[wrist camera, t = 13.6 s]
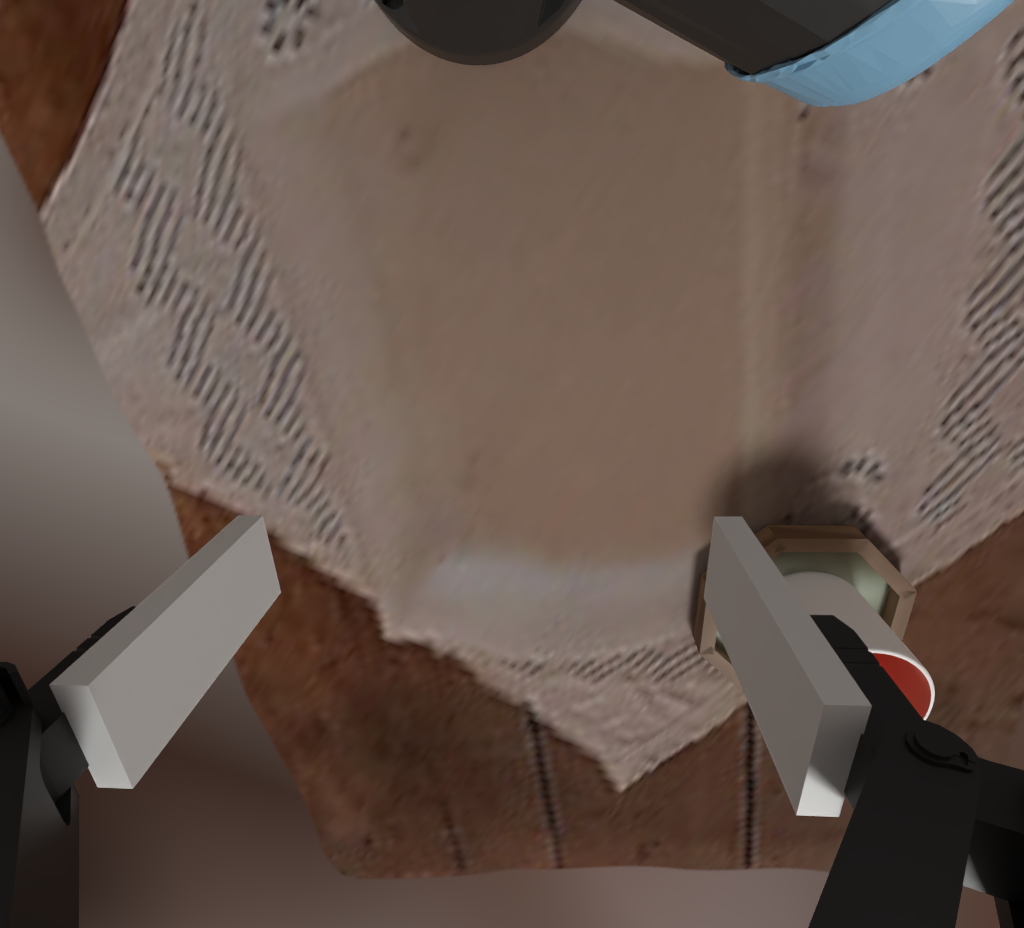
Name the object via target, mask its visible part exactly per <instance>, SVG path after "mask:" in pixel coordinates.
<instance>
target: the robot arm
mask: <svg viewBox="0 0 1024 928" xmlns="http://www.w3.org/2000/svg"><path fill="white" fill-rule="evenodd" d="M581 1H582V0H375V2H376V3H377V4H378V6H379V7H380V9H381V10H382V11H383V13H384V14H385V15H386V16H387V18H388V19H389V20H390V21H391V23H392V24H393V25H394V26H395V27H396V28H397V29H398V30H399V31H400V32H401V33H402V34H403V35H404V36H406V37H407V38H408V39H409V40H410V41H412V42H413V43H414V44H416V45H417V46H419V47H420V48H422V49H423V50H425V51H427V52H429V53H431V54H433V55H435V56H437V57H439V58H442V59H445V60H448V61H451V62H455V63H460V64H466V65H489V64H496V63H501V62H505V61H509V60H512V59H514V58H517V57H520V56H522V55H524V54H526V53H528V52H530V51H531V50H533V49H535V48H536V47H538V46H539V45H541V44H542V43H544V42H545V41H546V40H547V39H549V38H550V37H551V36H552V35H553V34H554V33H555V32H557V31H558V30H559V29H560V28H561V27H562V25H563V24H564V23H565V22H566V21H567V20H568V19H569V17H570V16H571V15H572V14H573V12H574V11H575V10H576V8H577V7H578V5H579V4H580V2H581ZM614 1H616V2H617V3H619V4H621V5H623V6H625V7H626V8H628V9H630V10H632V11H634V12H635V13H637V14H639V15H641V16H643V17H644V18H646V19H648V20H650V21H652V22H653V23H655V24H657V25H659V26H661V27H662V28H664V29H666V30H668V31H670V32H671V33H673V34H675V35H677V36H679V37H680V38H682V39H684V40H686V41H688V42H689V43H691V44H693V45H695V46H697V47H699V48H700V49H702V50H704V51H706V52H708V53H709V54H711V55H713V56H715V57H717V58H718V59H720V60H722V61H724V62H725V68H726V69H727V71H728V72H729V73H731V74H732V75H733V76H735V77H736V78H738V79H740V80H744V81H752V82H756V83H761V82H762V83H764V84H766V85H768V86H770V87H772V88H774V89H776V90H779V91H781V92H783V93H785V94H787V95H789V96H791V97H793V98H795V99H797V100H799V101H801V102H803V103H806V104H808V105H812V106H818V107H826V106H842V105H852V104H857V103H860V102H863V101H866V100H869V99H871V98H873V97H876V96H878V95H880V94H883V93H885V92H887V91H889V90H891V89H893V88H895V87H897V86H899V85H901V84H903V83H904V82H906V81H908V80H909V79H911V78H913V77H915V76H916V75H918V74H919V73H921V72H923V71H924V70H926V69H927V68H929V67H930V66H932V65H933V64H935V63H936V62H937V61H939V60H940V59H942V58H943V57H944V56H946V55H947V54H948V53H950V52H951V51H953V50H954V49H955V48H957V47H958V46H959V45H961V44H962V43H963V42H965V41H966V40H967V39H968V38H970V37H971V36H972V35H973V34H975V33H976V32H977V31H979V30H980V29H981V28H982V27H984V26H985V25H986V24H988V23H989V22H990V21H991V20H992V19H994V18H995V17H996V16H997V15H998V14H999V13H1000V12H1002V11H1003V10H1004V9H1005V8H1006V7H1007V6H1009V5H1010V4H1011V3H1012V2H1013V1H1014V0H614ZM280 593H281V591H280V586H279V582H278V578H277V574H276V569H275V565H274V561H273V557H272V553H271V548H270V544H269V540H268V536H267V532H266V527H265V523H264V519H263V516H237V517H236V518H235V519H234V520H233V521H231V522H230V523H229V524H228V525H227V526H226V527H225V528H224V529H223V530H221V531H220V532H219V533H218V534H217V535H216V536H215V537H214V538H213V539H211V540H210V541H209V542H208V543H207V544H206V545H205V546H204V547H202V548H201V549H200V550H199V551H198V552H197V553H196V554H195V555H194V556H192V557H191V558H190V559H189V560H188V561H187V562H186V563H185V564H183V565H182V566H181V567H180V568H179V569H178V570H177V571H176V572H175V573H173V574H172V575H171V576H170V577H169V578H168V579H167V580H166V581H165V582H163V583H162V584H161V585H160V586H159V587H158V588H157V589H156V590H154V591H153V593H151V594H150V595H149V596H148V597H147V598H146V599H144V600H143V601H142V602H141V603H140V604H139V605H138V606H137V607H135V606H134V607H133V606H132V607H131V608H129V609H127V610H125V611H124V612H122V613H120V614H118V615H116V616H115V617H113V618H111V619H109V620H108V621H107V622H106V623H105V624H104V625H103V626H101V627H100V628H99V629H98V630H97V631H96V632H95V633H93V634H92V635H91V638H88V639H86V640H85V641H84V642H83V643H82V644H81V645H79V646H78V647H77V650H76V651H72V652H71V653H70V654H69V655H68V656H67V657H66V658H64V659H63V660H62V661H61V662H60V663H59V664H58V665H57V666H55V667H54V668H53V669H52V670H51V671H50V672H49V673H47V674H46V675H45V676H44V677H43V678H41V679H40V680H39V681H38V682H37V683H36V684H35V685H33V686H32V687H31V688H30V689H29V690H27V688H26V686H25V684H24V682H23V680H22V678H21V676H20V674H19V672H18V670H17V668H16V666H15V665H14V664H11V663H9V662H0V928H79V794H78V791H77V789H76V787H75V785H74V782H75V781H76V780H77V779H78V778H79V776H80V775H81V774H82V773H83V772H84V771H85V770H86V768H87V767H88V768H89V770H90V772H91V774H92V776H93V779H94V781H95V783H96V785H97V787H102V788H127V789H133V788H134V787H135V785H136V784H137V783H138V781H139V780H140V779H141V777H142V776H143V775H144V773H145V772H146V771H147V769H148V768H149V767H150V765H151V764H152V763H153V761H154V760H155V758H156V757H157V756H158V755H159V753H160V752H161V751H162V749H163V748H164V747H165V746H166V744H167V743H168V742H169V740H170V739H171V738H172V736H173V735H174V734H175V732H176V731H177V729H178V728H179V727H180V726H181V724H182V723H183V722H184V720H185V719H186V718H187V716H188V715H189V714H190V712H191V711H192V710H193V708H194V707H195V706H196V704H197V703H198V702H199V700H200V699H201V698H202V696H203V695H204V694H205V692H206V691H207V690H208V688H209V687H210V686H211V685H212V683H213V682H214V681H215V679H216V678H217V677H218V675H219V674H220V673H221V671H222V670H223V669H224V667H225V666H226V665H227V663H228V662H229V661H230V659H231V658H232V657H233V655H234V654H235V653H236V651H237V650H238V649H239V648H240V646H241V645H242V644H243V642H244V641H245V640H246V638H247V637H248V636H249V634H250V633H251V632H252V630H253V629H254V628H255V626H256V625H257V624H258V622H259V621H260V620H261V618H262V617H263V616H264V614H265V613H266V612H267V610H268V609H269V608H270V606H271V605H272V604H273V602H274V601H275V600H276V598H277V597H278V596H279V595H280ZM704 600H705V602H706V604H707V607H708V609H709V611H710V614H711V616H712V618H713V621H714V623H715V625H716V628H717V630H718V632H719V635H720V637H721V640H722V642H723V644H724V647H725V649H726V651H727V654H728V656H729V658H730V661H731V663H732V665H733V668H734V670H735V672H736V675H737V677H738V679H739V682H740V684H741V686H742V689H743V691H744V693H745V696H746V698H747V701H748V703H749V705H750V708H751V710H752V712H753V715H754V717H755V719H756V722H757V724H758V726H759V729H760V731H761V733H762V736H763V738H764V740H765V743H766V745H767V747H768V750H769V752H770V755H771V757H772V759H773V762H774V764H775V766H776V769H777V771H778V773H779V776H780V778H781V780H782V783H783V785H784V787H785V790H786V792H787V794H788V797H789V799H790V801H791V804H792V806H793V808H794V811H795V813H796V815H804V816H829V817H839V815H840V812H841V808H842V805H843V801H844V798H845V795H846V796H847V798H848V800H849V802H850V804H851V806H852V808H853V810H854V812H853V814H852V817H851V819H850V822H849V824H848V827H847V830H846V832H845V835H844V837H843V840H842V842H841V845H840V848H839V850H838V853H837V855H836V858H835V860H834V863H833V866H832V868H831V871H830V873H829V876H828V879H827V881H826V884H825V886H824V889H823V891H822V894H821V896H820V899H819V902H818V904H817V907H816V909H815V912H814V914H813V917H812V920H811V922H810V925H809V927H808V928H955V925H956V920H957V913H958V908H959V903H960V898H961V892H962V887H963V886H966V887H969V888H972V889H975V890H977V891H981V892H983V893H986V894H989V895H992V896H994V899H995V903H996V909H997V913H998V919H999V923H1000V928H1024V770H1021V769H1017V768H1013V767H1010V766H1006V765H1002V764H998V763H995V762H991V761H988V760H985V759H982V758H979V757H978V756H977V755H976V753H975V752H974V750H973V749H972V748H971V747H970V746H969V745H968V744H967V743H965V742H964V741H963V740H962V739H961V738H960V737H958V736H957V735H956V734H954V733H952V732H950V731H949V730H947V729H945V728H943V727H942V726H940V725H937V724H934V723H932V722H929V721H926V720H923V718H922V717H921V716H920V715H919V713H918V712H917V711H916V709H915V708H914V707H913V705H912V704H911V703H910V702H909V700H908V699H907V698H906V696H905V695H904V694H903V693H902V691H901V690H900V689H899V687H898V686H897V685H896V684H895V682H894V681H893V680H892V678H891V677H890V676H889V674H888V673H887V672H886V671H885V669H884V668H883V667H882V666H880V665H879V662H878V660H877V659H876V658H875V656H874V655H873V654H872V652H869V651H868V647H867V646H866V645H865V643H864V642H863V641H862V640H861V638H860V637H859V636H858V634H857V633H856V632H855V631H854V630H853V629H852V628H850V627H849V626H848V625H846V624H845V623H843V622H842V621H841V620H839V619H838V618H837V617H835V616H834V615H809V613H808V612H807V611H806V609H805V608H804V606H803V605H802V603H801V602H800V600H799V599H798V597H797V596H796V594H795V593H794V592H793V590H792V589H791V587H790V586H789V584H788V583H787V581H786V580H785V578H784V577H783V576H782V574H781V573H780V571H779V570H778V568H777V567H776V565H775V564H774V562H773V561H772V560H771V558H770V557H769V555H768V554H767V552H766V551H765V549H764V548H763V546H762V545H761V544H760V542H759V541H758V539H757V538H756V536H755V535H754V533H753V532H752V530H751V529H750V527H749V526H748V525H747V523H746V522H745V520H744V519H743V517H742V516H714V519H713V527H712V535H711V543H710V551H709V559H708V567H707V575H706V583H705V591H704Z"/></svg>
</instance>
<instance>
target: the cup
mask: <svg viewBox="0 0 1024 928" xmlns="http://www.w3.org/2000/svg"><path fill="white" fill-rule="evenodd" d="M783 577H784V578H785V580H786V581H787V583H788V584H789V586H790V587H791V589H792V590H793V592H794V593H795V594H796V596H797V597H798V599H799V600H800V602H801V603H802V605H803V606H804V608H805V609H806V611H807V612H808V613H809V615H834V616H835V617H837V618H838V619H839V620H841V621H842V622H843V623H845V624H846V625H848V626H849V627H850V628H852V629H853V630H854V631H855V632H856V633H857V634H858V636H859V637H860V638H861V640H862V641H863V642H864V643H865V645H866V646H867V647H868V651H869V652H872V654H873V655H874V656H875V658H876V659H877V660H878V662H879V665H880V666H882V667H883V668H884V669H885V671H886V672H887V673H888V674H889V676H890V677H891V678H892V680H893V681H894V682H895V684H896V685H897V686H898V687H899V689H900V690H901V691H902V693H903V694H904V695H905V696H906V698H907V699H908V700H909V702H910V703H911V704H912V705H913V707H914V708H915V709H916V711H917V712H918V713H919V715H920V716H921V717H922V718H923V720H926V719H927V717H928V715H929V714H930V711H931V709H932V706H933V703H934V696H935V692H934V685H933V681H932V679H931V677H930V675H929V673H928V671H927V670H926V669H925V668H924V666H923V665H922V664H921V663H920V662H919V661H918V660H917V658H916V657H915V656H914V655H913V654H912V653H911V651H910V650H909V649H908V648H907V647H906V646H905V644H904V643H903V642H902V641H901V640H900V639H899V637H898V636H897V635H896V634H895V633H894V632H893V631H892V629H891V628H890V627H889V626H888V625H887V624H886V622H885V621H884V620H883V619H882V618H881V617H880V615H879V614H878V613H877V612H876V611H875V610H874V609H873V607H872V606H871V605H870V604H869V603H868V602H867V600H866V599H865V598H864V597H863V596H862V595H861V594H860V592H859V591H858V590H857V589H856V588H855V587H854V586H852V585H851V584H850V583H848V582H847V581H845V580H844V579H841V578H839V577H837V576H835V575H832V574H828V573H824V572H817V571H802V572H795V573H790V574H787V575H784V576H783Z"/></svg>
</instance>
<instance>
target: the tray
mask: <svg viewBox="0 0 1024 928" xmlns="http://www.w3.org/2000/svg"><path fill="white" fill-rule="evenodd" d="M754 535H755V536H756V538H757V539H758V541H759V542H760V544H761V545H762V546H763V548H764V549H765V551H766V552H767V554H768V555H769V557H770V558H771V560H772V561H773V562H774V564H775V565H776V567H777V568H778V570H779V571H780V573H781V574H782V576H784V575H787V574H790V573H795V572H802V571H817V572H824V573H828V574H832V575H835V576H837V577H839V578H841V579H844V580H845V581H847V582H848V583H850V584H851V585H852V586H854V587H855V588H856V589H857V590H858V591H859V592H860V594H861V595H862V596H863V597H864V598H865V599H866V600H867V602H868V603H869V604H870V605H871V606H872V607H873V609H874V610H875V611H876V612H877V613H878V614H879V615H880V617H881V618H882V619H883V620H884V621H885V622H886V624H887V625H888V626H889V627H890V628H891V629H892V631H893V632H894V633H895V634H896V635H897V636H898V637H899V639H900V640H901V641H902V639H903V636H904V633H905V630H906V626H907V623H908V620H909V617H910V613H911V610H912V607H913V604H914V601H915V597H916V594H917V591H916V590H915V589H914V587H913V586H912V585H911V584H910V583H909V582H908V581H907V580H906V579H905V578H904V577H903V576H902V575H901V574H900V573H899V572H898V570H897V569H896V568H895V567H894V566H893V565H892V564H891V563H890V562H889V561H888V560H887V559H886V558H885V557H884V556H883V555H882V554H881V552H880V551H879V550H878V549H877V548H876V547H875V546H874V545H873V544H872V543H871V542H870V541H869V540H868V539H867V538H866V537H865V536H864V535H863V534H862V533H861V532H860V531H859V530H858V529H857V528H856V527H855V526H854V525H766V526H765V527H763V528H762V529H761V530H759V531H758V532H757V533H755V534H754ZM706 575H707V570H705V571H704V572H703V573H701V578H700V586H699V594H698V603H697V611H696V619H695V628H694V636H693V637H694V640H695V643H696V646H697V648H698V651H699V654H700V655H701V656H702V657H704V658H705V659H706V660H707V661H708V662H709V663H710V664H712V665H713V666H714V667H715V668H716V669H717V670H718V671H720V672H721V673H722V674H723V675H724V676H725V677H726V678H728V679H729V680H730V681H731V682H732V683H733V684H734V685H736V686H737V687H738V688H739V689H740V690H741V691H742V692H744V691H743V689H742V686H741V684H740V682H739V679H738V677H737V675H736V672H735V670H734V668H733V665H732V663H731V661H730V658H729V656H728V654H727V651H726V649H725V647H724V644H723V642H722V640H721V637H720V635H719V632H718V630H717V628H716V625H715V623H714V621H713V618H712V616H711V614H710V611H709V609H708V607H707V604H706V602H705V600H704V591H705V583H706Z"/></svg>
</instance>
